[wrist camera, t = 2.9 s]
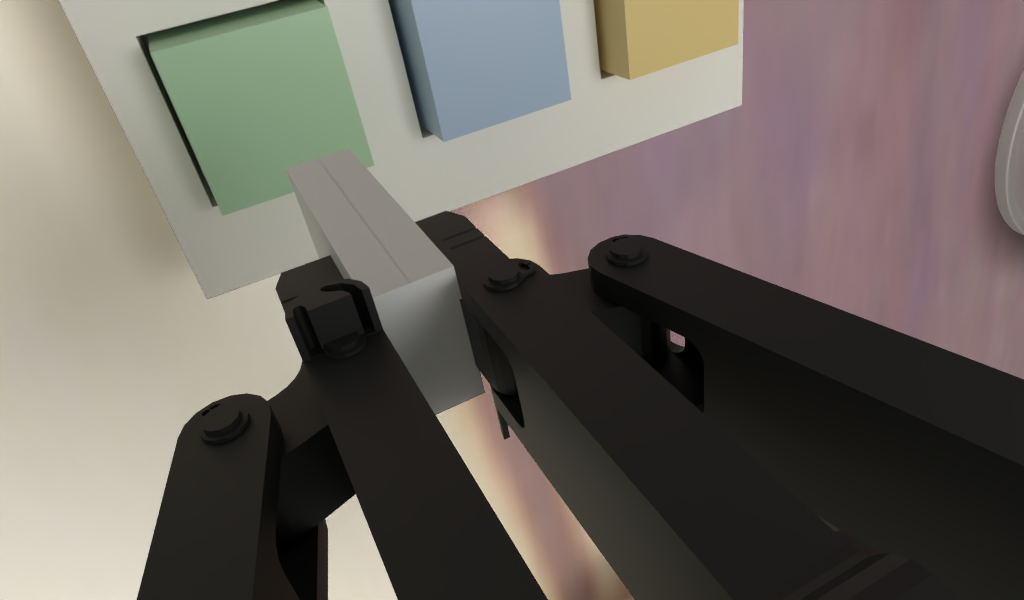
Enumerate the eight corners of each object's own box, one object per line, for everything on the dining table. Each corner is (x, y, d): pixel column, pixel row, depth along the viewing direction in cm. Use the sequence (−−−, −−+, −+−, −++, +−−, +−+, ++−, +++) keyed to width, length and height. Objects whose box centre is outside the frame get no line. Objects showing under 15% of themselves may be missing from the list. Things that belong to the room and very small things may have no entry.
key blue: (508, -58, 30) (552, -53, 27) (529, 80, 33) (571, 99, 30) (376, -24, 28) (407, -15, 25) (412, 118, 32) (443, 142, 29)
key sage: (304, -6, 28) (327, 6, 25) (349, 138, 31) (374, 165, 28) (147, 34, 26) (149, 52, 23) (212, 182, 29) (222, 215, 26)
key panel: (661, -204, 34) (747, -221, 29) (672, 81, 42) (741, 104, 37) (41, -77, 26) (22, -73, 22) (196, 244, 34) (207, 299, 29)
